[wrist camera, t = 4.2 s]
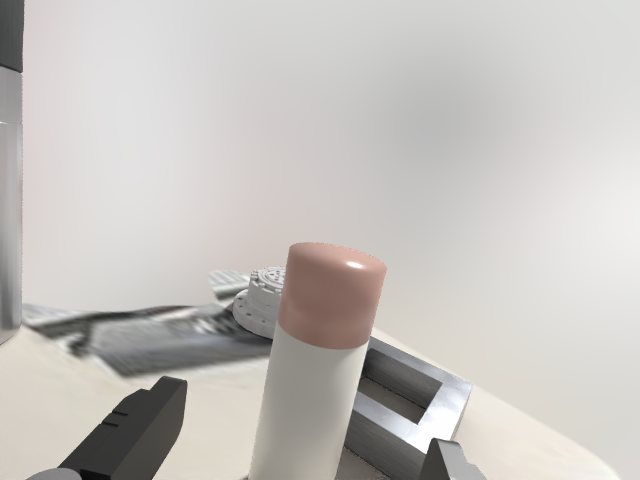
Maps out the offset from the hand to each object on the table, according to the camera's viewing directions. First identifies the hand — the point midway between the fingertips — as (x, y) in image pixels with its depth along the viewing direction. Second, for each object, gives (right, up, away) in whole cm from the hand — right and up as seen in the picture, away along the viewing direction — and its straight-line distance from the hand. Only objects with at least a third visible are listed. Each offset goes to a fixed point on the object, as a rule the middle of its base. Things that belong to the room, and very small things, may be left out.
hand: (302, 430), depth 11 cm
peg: (-1, -6, +6) cm, 8 cm away
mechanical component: (-3, -2, +24) cm, 24 cm away
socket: (+5, -6, +13) cm, 15 cm away
